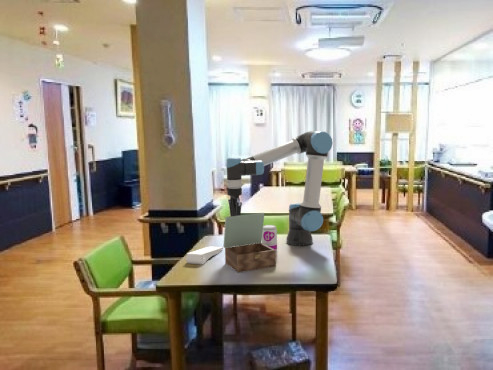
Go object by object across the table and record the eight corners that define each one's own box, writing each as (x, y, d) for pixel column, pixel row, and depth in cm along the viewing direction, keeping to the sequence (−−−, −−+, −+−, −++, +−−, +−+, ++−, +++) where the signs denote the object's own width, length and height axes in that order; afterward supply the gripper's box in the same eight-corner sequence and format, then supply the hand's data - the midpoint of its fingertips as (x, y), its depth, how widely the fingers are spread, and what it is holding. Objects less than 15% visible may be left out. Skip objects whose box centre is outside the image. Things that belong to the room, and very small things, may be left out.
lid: (261, 242, 225) (260, 241, 226) (264, 213, 219) (263, 212, 220) (224, 247, 217) (223, 246, 218) (226, 218, 211) (225, 217, 212)
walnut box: (261, 257, 226) (260, 242, 225) (276, 266, 211) (276, 250, 210) (225, 263, 218) (224, 247, 217) (238, 273, 203) (238, 256, 202)
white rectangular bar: (209, 259, 245) (186, 268, 219) (206, 246, 246) (183, 254, 219) (225, 256, 242) (204, 264, 215) (222, 243, 242) (201, 250, 216)
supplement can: (276, 256, 228) (275, 228, 226) (260, 255, 230) (260, 227, 228) (278, 252, 236) (277, 224, 234) (263, 251, 237) (262, 224, 235)
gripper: (223, 186, 230) (224, 230, 233) (232, 189, 218) (234, 235, 221) (236, 185, 233) (237, 228, 236) (246, 188, 221) (247, 233, 224)
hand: (235, 232), depth 229 cm, fingers closed
